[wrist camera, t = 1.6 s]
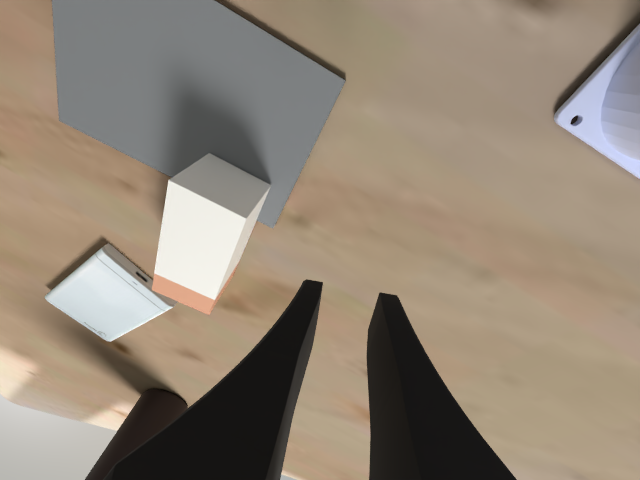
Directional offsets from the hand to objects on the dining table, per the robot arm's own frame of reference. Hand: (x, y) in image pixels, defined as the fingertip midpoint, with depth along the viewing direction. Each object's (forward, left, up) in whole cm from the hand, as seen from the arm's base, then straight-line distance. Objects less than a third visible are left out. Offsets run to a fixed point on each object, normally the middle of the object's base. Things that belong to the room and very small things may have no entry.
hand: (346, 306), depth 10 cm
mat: (+12, 0, -10) cm, 16 cm away
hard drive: (+16, +23, -11) cm, 30 cm away
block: (+8, +2, -8) cm, 11 cm away
